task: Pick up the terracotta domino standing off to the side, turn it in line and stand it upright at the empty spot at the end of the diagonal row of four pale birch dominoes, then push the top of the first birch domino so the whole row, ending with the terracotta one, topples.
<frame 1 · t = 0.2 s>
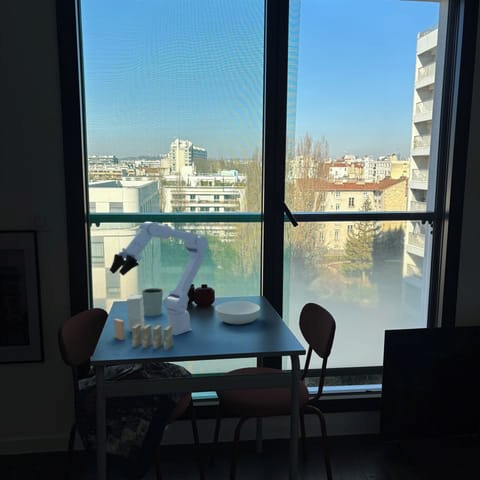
hand: (116, 272, 180), 31 cm above the table, tool tilted 45°, fingers open, 7 cm apart
domino 4: (137, 344, 188), on the table
domino 2: (158, 346, 186), on the table
grey green plant pot: (153, 314, 231), on the table
domino 3: (147, 345, 187), on the table
end domino: (119, 338, 196), on the table
serving bowl: (238, 322, 216), on the table
skincare box: (136, 329, 208), on the table
domino 1: (168, 347, 185), on the table
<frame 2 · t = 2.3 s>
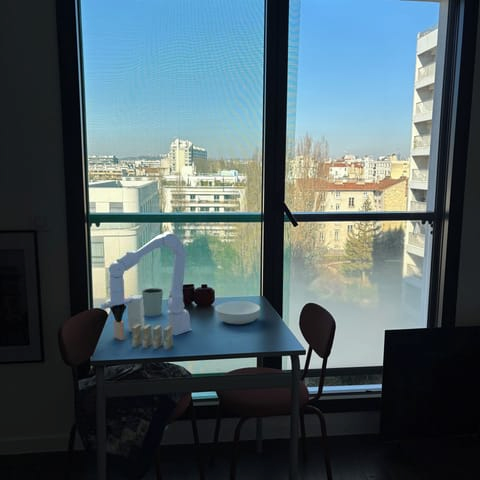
hand: (118, 322, 195), 7 cm above the table, tool pointing down, fingers closed, pressing on end domino
end domino: (119, 339, 196), on the table, touching gripper
everything else where it was.
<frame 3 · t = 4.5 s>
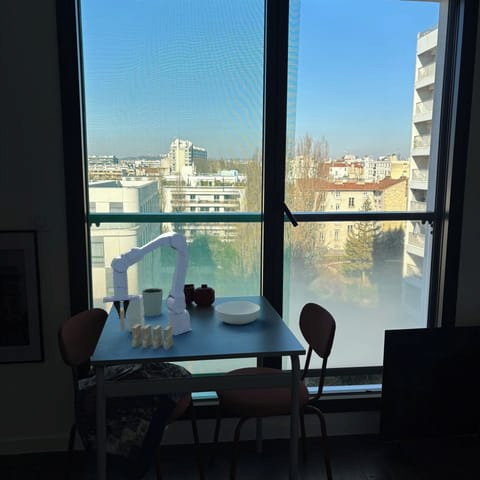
hand: (122, 318, 191), 10 cm above the table, tool pointing down, fingers closed on end domino
end domino: (123, 328, 192), point 6 cm above the table, touching gripper
everything else where it was.
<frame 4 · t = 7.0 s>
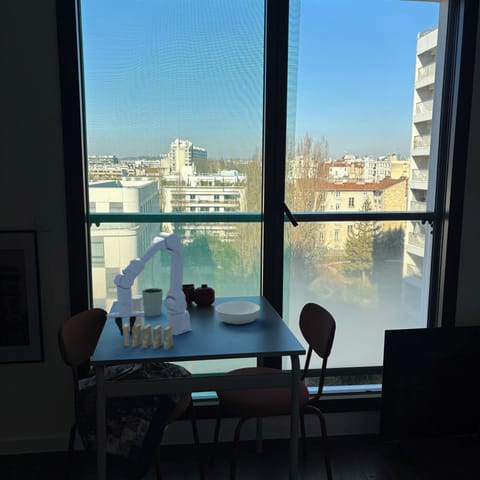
hand: (126, 334, 189), 4 cm above the table, tool pointing down, fingers open, 3 cm apart
domino 4: (137, 344, 188), on the table, touching gripper
end domino: (127, 344, 189), on the table
everything else where it was.
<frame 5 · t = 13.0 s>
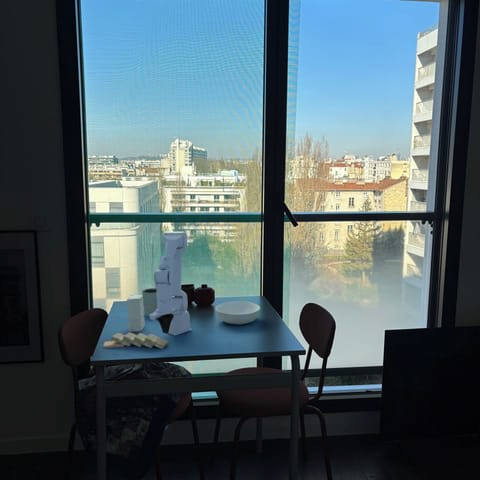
hand: (165, 332, 185), 6 cm above the table, tool pointing down, fingers closed
domino 4: (132, 342, 189), point 1 cm above the table, tilted 74°, touching domino 3
domino 2: (154, 344, 186), point 1 cm above the table, tilted 70°, touching domino 1, domino 3
domino 3: (143, 343, 188), point 1 cm above the table, tilted 70°, touching domino 2, domino 4
end domino: (124, 344, 189), on the table, tilted 90°
domino 1: (165, 345, 185), point 1 cm above the table, tilted 70°, touching domino 2
everything else where it was.
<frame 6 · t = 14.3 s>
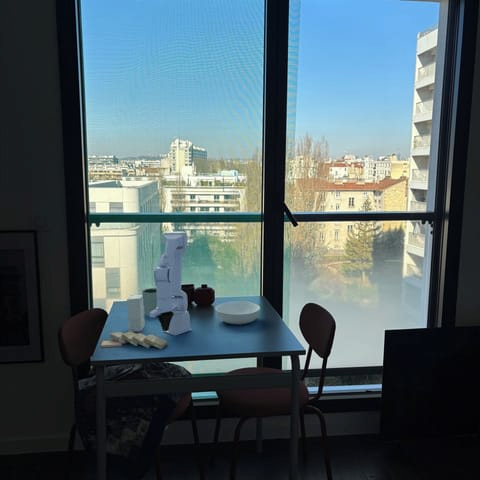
hand: (165, 330, 185), 7 cm above the table, tool pointing down, fingers closed
domino 4: (128, 340, 190), point 1 cm above the table, tilted 80°, touching end domino
domino 2: (152, 344, 186), point 1 cm above the table, tilted 71°, touching domino 1, domino 3
domino 3: (140, 342, 188), point 1 cm above the table, tilted 71°, touching domino 2
end domino: (122, 343, 190), on the table, tilted 90°, touching domino 4
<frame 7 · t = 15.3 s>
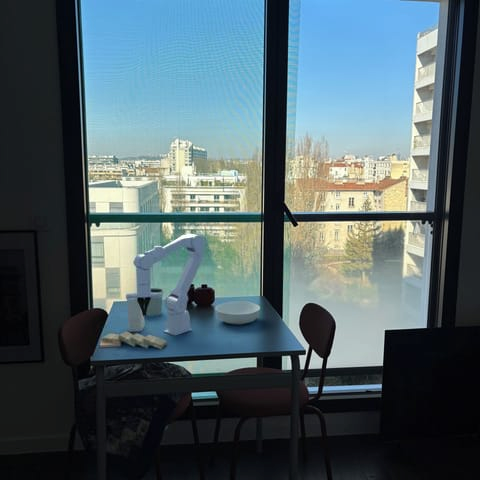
hand: (144, 315, 193), 10 cm above the table, tool pointing down, fingers closed
domino 4: (122, 339, 190), point 2 cm above the table, tilted 90°, touching domino 3, end domino
domino 2: (150, 344, 186), point 1 cm above the table, tilted 71°, touching domino 1
domino 3: (138, 343, 188), point 1 cm above the table, tilted 70°, touching domino 4
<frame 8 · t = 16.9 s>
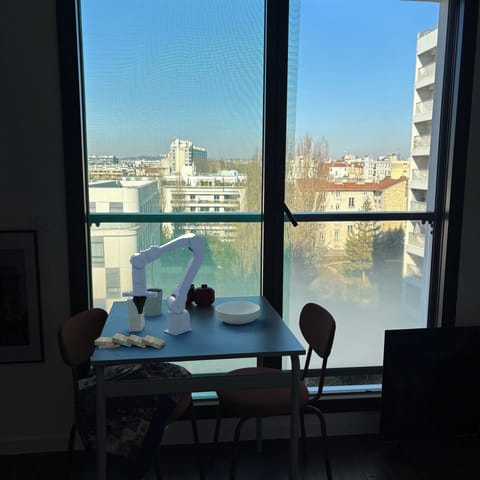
hand: (140, 313, 196), 10 cm above the table, tool pointing down, fingers closed
domino 4: (115, 341, 188), point 2 cm above the table, tilted 90°, touching end domino
domino 2: (147, 344, 187), point 1 cm above the table, tilted 73°, touching domino 1, domino 3
domino 3: (132, 342, 188), point 1 cm above the table, tilted 70°, touching domino 2
at the end: end domino tilted 90°; domino 1 tilted 75°; end domino inside the target area (2.1 cm from its centre), on the table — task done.
